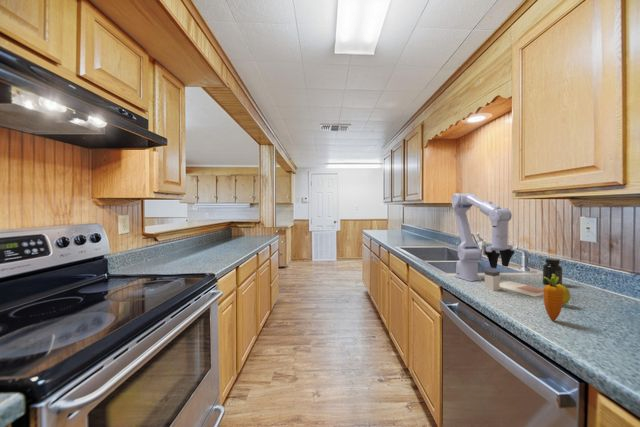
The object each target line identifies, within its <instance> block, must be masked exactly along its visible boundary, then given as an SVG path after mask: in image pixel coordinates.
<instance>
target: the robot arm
mask: <svg viewBox="0 0 640 427" xmlns="http://www.w3.org/2000/svg"><path fill="white" fill-rule="evenodd" d="M450 202H451V206H452V210H453V213H454V217H455V220H456V225H457V226H456V227H457V229H458V234H459V238H460V242H461V243H459V244H458V246H457V257H458V259H459V260H457V261H456V265H455V266H456V268H455V275H454V277H455V278H459V279H462V280H466V281H469V282H474V281H480V280H483V278H481V277H478V276H479V271H478V270H479V268H478V266H479V265H478V264H479V262H480V260H481V259H482V257H483V252H482V250H481V249H480V247H479V245H478V244H477V242H475V241H474V240H473V236H472V235H473V234H472V232H471V228H470V224H469V223H470V222H469V220H468V216H467V212H468V211H469V210H470V209H471V208H472V206H474V207H476V208H479V211H480V213H483V214H484V215H485V216H487V217H488V218H489V220H490V225H491V245H489V246H486V247H485V250H484V254H485V255H486V257H487V259H488V262H489V266H490V268H492V269H497V267H498V260H499V258H500V259H501V266H502V267H506V268H507V267H508V266H509V265H510V261H511V259H512V257H513V255H514V254H515V250H513V247H514V246H513V245H512V244H508V243H509V242H508V240H509V239H508V238H509V235H508V234H509V221H511V219H512V216H513V215H512V211H511V210H510V209H509V208H508V207H507V208H506V207H505V208H502V207H501V206H500V205H496V204H494V202H493V201H490V200H488V201H484V200H482V199H481V198H478V196H477V195H476V194H474V193H472V192H471V193H470V192H469V193H457V192H455V193H453V195H452V197H451V199H450Z"/></svg>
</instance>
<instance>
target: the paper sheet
mask: <svg viewBox="0 0 640 427" xmlns="http://www.w3.org/2000/svg"><path fill="white" fill-rule="evenodd" d="M500 288H501V289H504V290H508V291H512V292H515V293H519V294H522V295H526V296H529V297H532V298H533V297H534V298H537V297H542V296H544V292H543V289H544V288H539V287H535V286H531V285H528V284H525V283H524V284H523V283H519V282H515V281H511V280H508V281H502V282H500Z"/></svg>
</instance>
